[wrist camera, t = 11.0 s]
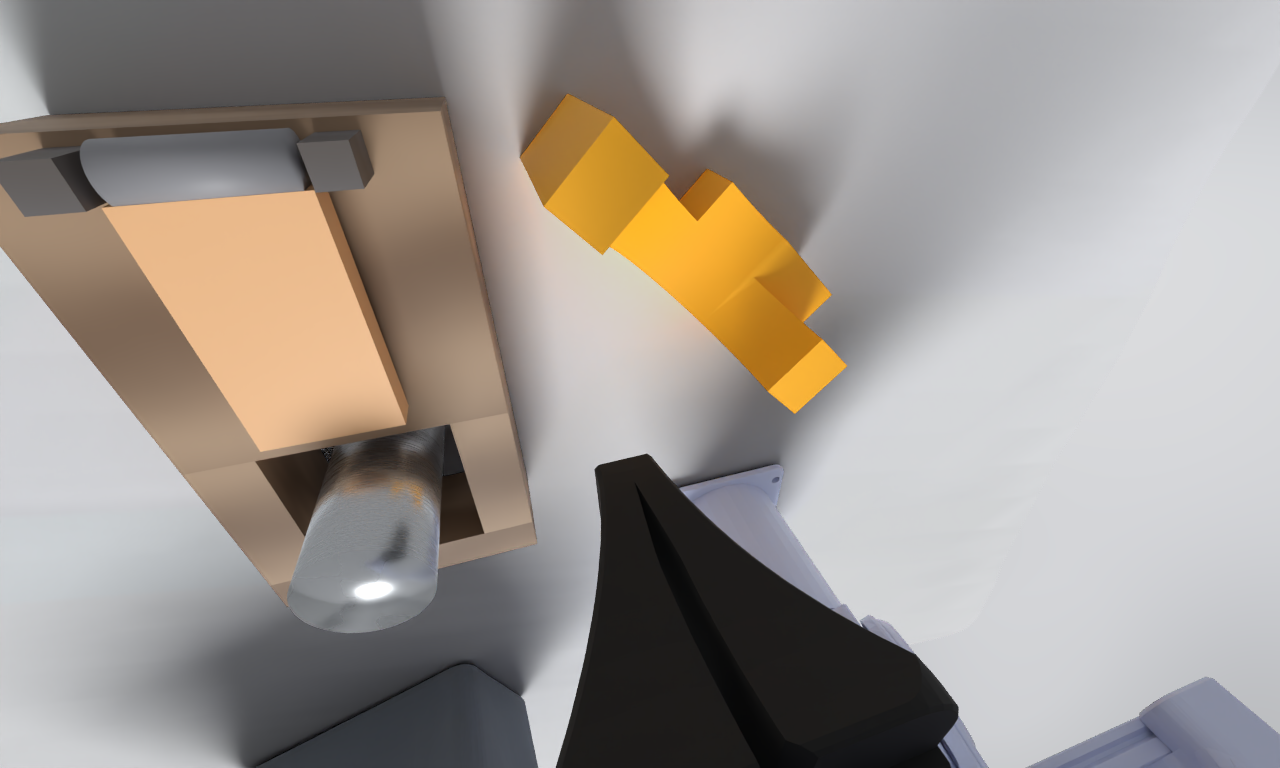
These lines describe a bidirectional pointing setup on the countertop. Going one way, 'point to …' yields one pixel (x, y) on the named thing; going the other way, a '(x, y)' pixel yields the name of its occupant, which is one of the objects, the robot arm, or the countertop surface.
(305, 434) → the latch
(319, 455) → the wooden box
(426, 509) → the peg
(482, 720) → the storage bin
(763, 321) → the pipe clamp
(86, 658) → the countertop surface
